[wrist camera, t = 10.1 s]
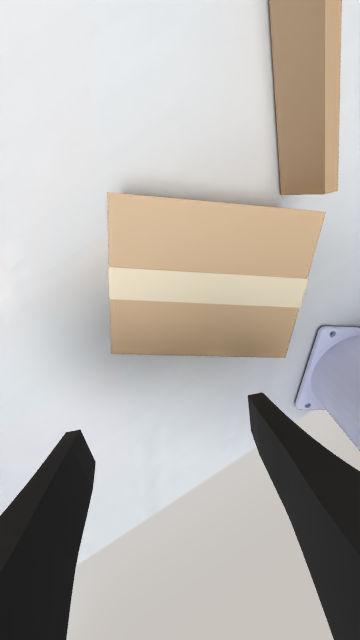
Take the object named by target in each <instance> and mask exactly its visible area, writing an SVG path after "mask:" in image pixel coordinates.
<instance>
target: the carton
mask: <svg viewBox="0 0 360 640" xmlns="http://www.w3.org/2000/svg"><path fill="white" fill-rule="evenodd" d="M107 207H108V246H109V267H108V275H109V299H110V323H111V354H146V355H188V356H230V357H273V358H285V357H286V353H287V350H288V346H289V342H290V339H291V335H292V332H293V328H294V324H295V321H296V317H297V314H298V310H299V308H301V305H302V301H303V297H304V294H305V290H306V287H307V283H308V280H309V279H308V274H309V271H310V267H311V263H312V260H313V256H314V253H315V249H316V246H317V242H318V238H319V235H320V231H321V228H322V224H323V220H324V217H325V213H326V212H324V211H312V210H301V209H290V208H279V207H267V206H256V205H245V204H233V203H222V202H211V201H200V200H188V199H177V198H166V197H154V196H143V195H132V194H121V193H109V192H107Z"/></svg>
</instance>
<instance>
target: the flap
mask: <svg viewBox="0 0 360 640" xmlns="http://www.w3.org/2000/svg"><path fill="white" fill-rule="evenodd" d="M269 6H270V22H271V38H272V54H273V71H274V87H275V103H276V120H277V136H278V152H279V169H280V185H281V195H301V194H327V193H331V192H335V191H338V159H339V110H340V62H341V13H342V0H269Z"/></svg>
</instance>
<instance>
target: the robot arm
mask: <svg viewBox="0 0 360 640" xmlns="http://www.w3.org/2000/svg"><path fill="white" fill-rule="evenodd" d="M332 331H333V333H332V334H331V335H330V333H331V332H332ZM248 403H249V414H250V424H251V432H252V434H253V437H254V440H255V443H256V446H257V449H258V451H259V454H260V456H261V459H262V461H263V463H264V465H265V467H266V469H267V471H268V473H269V475H270V478H271V480H272V482H273V484H274V486H275V488H276V490H277V492H278V494H279V497H280V499H281V501H282V503H283V505H284V507H285V509H286V512H287V514H288V516H289V519H290V521H291V523H292V526H293V528H294V531H295V534H296V536H297V539H298V541H299V544H300V547H301V550H302V552H303V555H304V558H305V560H306V563H307V566H308V568H309V571H310V574H311V577H312V579H313V582H314V584H315V587H316V590H317V593H318V596H319V598H320V602H321V604H322V607H323V610H324V613H325V616H326V618H327V621H328V624H329V627H330V629H331V633H332V636H333V638H334V640H360V471H358V470H357V469H355V468H354V467H352V466H351V465H349V464H348V463H346V462H345V461H343V460H342V459H340V458H339V457H337V456H336V455H334V454H333V453H332V452H330V451H329V450H328V449H326V448H325V447H324V446H322V445H321V444H320V443H319V442H317V441H316V440H314V439H313V438H312V437H311V436H310V435H308V434H307V433H306V432H305V431H304V430H302V429H301V428H300V427H299V426H298V425H297V424H295V423H294V422H293V421H292V420H291V419H290V418H289V417H287V416H286V415H285V414H284V413H283V412H282V411H281V410H280V409H279V408H278V407H277V406H276V405H275V404H274V403H273V402H272V401H271V400H270V399H269V398H268V397H267V396H266V395H265V394H263V393H257V394H252V395H248ZM307 403H308V404H307ZM295 405H296V407H297V408H298V409H300V410H327V411H328V412H329V414H330V415H331V416H332V417H333V418H334V420H335V421H336V422H337V424H338V425H339V426H340V427H341V429H342V430H343V431H344V432H345V433H346V435H347V436H348V437H349V438H350V440H351V441H352V442H353V443H354V445H355V446H356V447H357V448H358V450H359V451H360V327H335V326H324V327H322V328H320V329H319V331H318V334H317V337H316V340H315V343H314V346H313V349H312V352H311V355H310V358H309V362H308V365H307V368H306V371H305V374H304V377H303V380H302V383H301V386H300V390H299V393H298V396H297V399H296V402H295ZM95 463H96V462H95V460H94V458H93V456H92V454H91V451H90V449H89V447H88V445H87V443H86V441H85V438H84V436H83V434H82V432H81V430H76V431H71V432H66V433H65V435H64V436H63V437H62V439H61V440H60V441H59V443H58V444H57V445H56V447H55V448H54V449H53V451H52V452H51V453H50V455H49V456H48V457H47V459H46V460H45V461H44V463H43V464H42V465H41V467H40V468H39V469H38V470H37V472H36V473H35V474H34V476H33V477H32V478H31V480H30V481H29V482H28V483H27V485H26V486H25V487H24V488H23V489H22V491H21V492H20V493H19V494H18V495H17V497H16V498H15V499H14V500H13V502H12V503H11V504H10V505H9V506H8V508H7V509H6V510H5V511H4V512H3V513H2V515H1V516H0V640H66V636H67V628H68V620H69V612H70V604H71V596H72V589H73V582H74V574H75V568H76V562H77V557H78V552H79V548H80V543H81V539H82V534H83V530H84V526H85V521H86V517H87V513H88V508H89V504H90V499H91V494H92V490H93V482H94V473H95Z"/></svg>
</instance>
